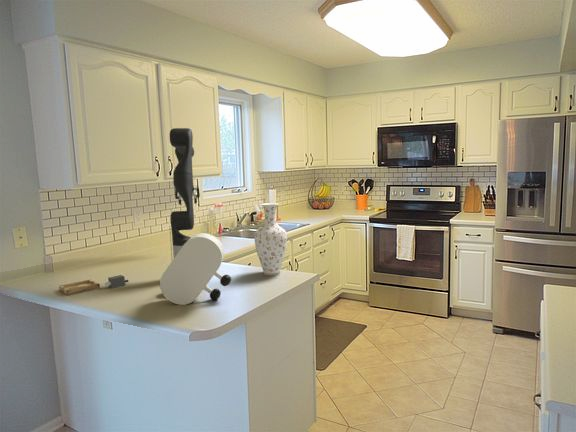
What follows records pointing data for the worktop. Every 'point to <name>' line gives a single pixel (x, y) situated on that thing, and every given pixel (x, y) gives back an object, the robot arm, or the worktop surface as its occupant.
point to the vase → (270, 242)
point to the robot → (194, 270)
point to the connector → (116, 281)
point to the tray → (79, 287)
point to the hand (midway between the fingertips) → (188, 204)
